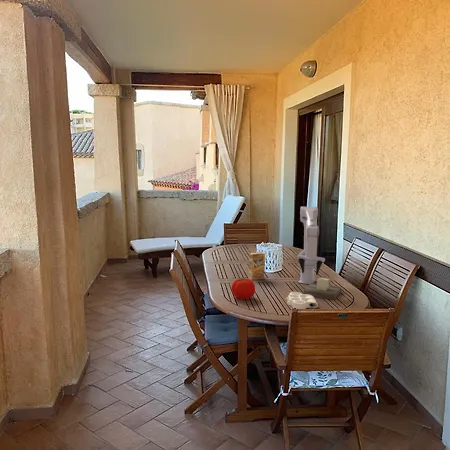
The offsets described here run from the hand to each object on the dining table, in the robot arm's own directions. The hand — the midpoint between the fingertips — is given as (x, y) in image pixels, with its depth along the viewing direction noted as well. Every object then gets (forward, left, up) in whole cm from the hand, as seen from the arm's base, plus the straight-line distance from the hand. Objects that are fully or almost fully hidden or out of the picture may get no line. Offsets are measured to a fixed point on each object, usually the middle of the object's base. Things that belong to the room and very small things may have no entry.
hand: (309, 273), depth 218 cm
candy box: (-7, -33, -10) cm, 36 cm away
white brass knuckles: (+23, +2, -10) cm, 25 cm away
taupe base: (+1, +8, -9) cm, 12 cm away
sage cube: (+1, +8, -7) cm, 10 cm away
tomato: (+30, -25, -10) cm, 41 cm away
